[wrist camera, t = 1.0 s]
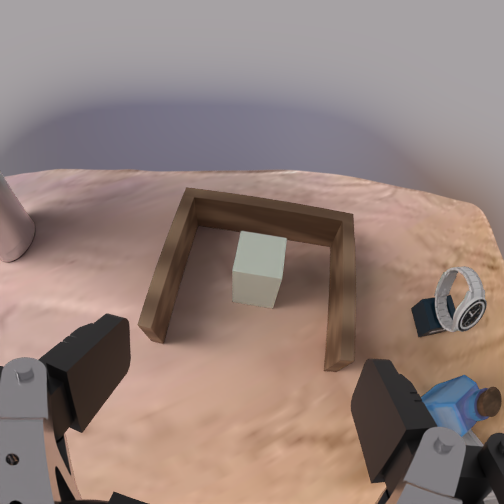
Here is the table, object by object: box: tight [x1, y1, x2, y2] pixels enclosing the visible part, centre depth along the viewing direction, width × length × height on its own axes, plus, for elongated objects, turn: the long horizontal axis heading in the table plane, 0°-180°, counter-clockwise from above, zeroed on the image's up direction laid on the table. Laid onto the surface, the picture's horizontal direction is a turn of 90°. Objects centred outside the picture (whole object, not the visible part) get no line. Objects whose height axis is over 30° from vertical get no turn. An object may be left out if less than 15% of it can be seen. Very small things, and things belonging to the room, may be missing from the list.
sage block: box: [232, 231, 287, 309], centre depth 35 cm, size 5×5×8 cm
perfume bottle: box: [421, 375, 502, 437], centre depth 24 cm, size 6×6×12 cm
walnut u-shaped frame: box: [138, 187, 356, 372], centre depth 36 cm, size 19×22×6 cm
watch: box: [411, 267, 487, 337], centre depth 32 cm, size 6×8×11 cm
